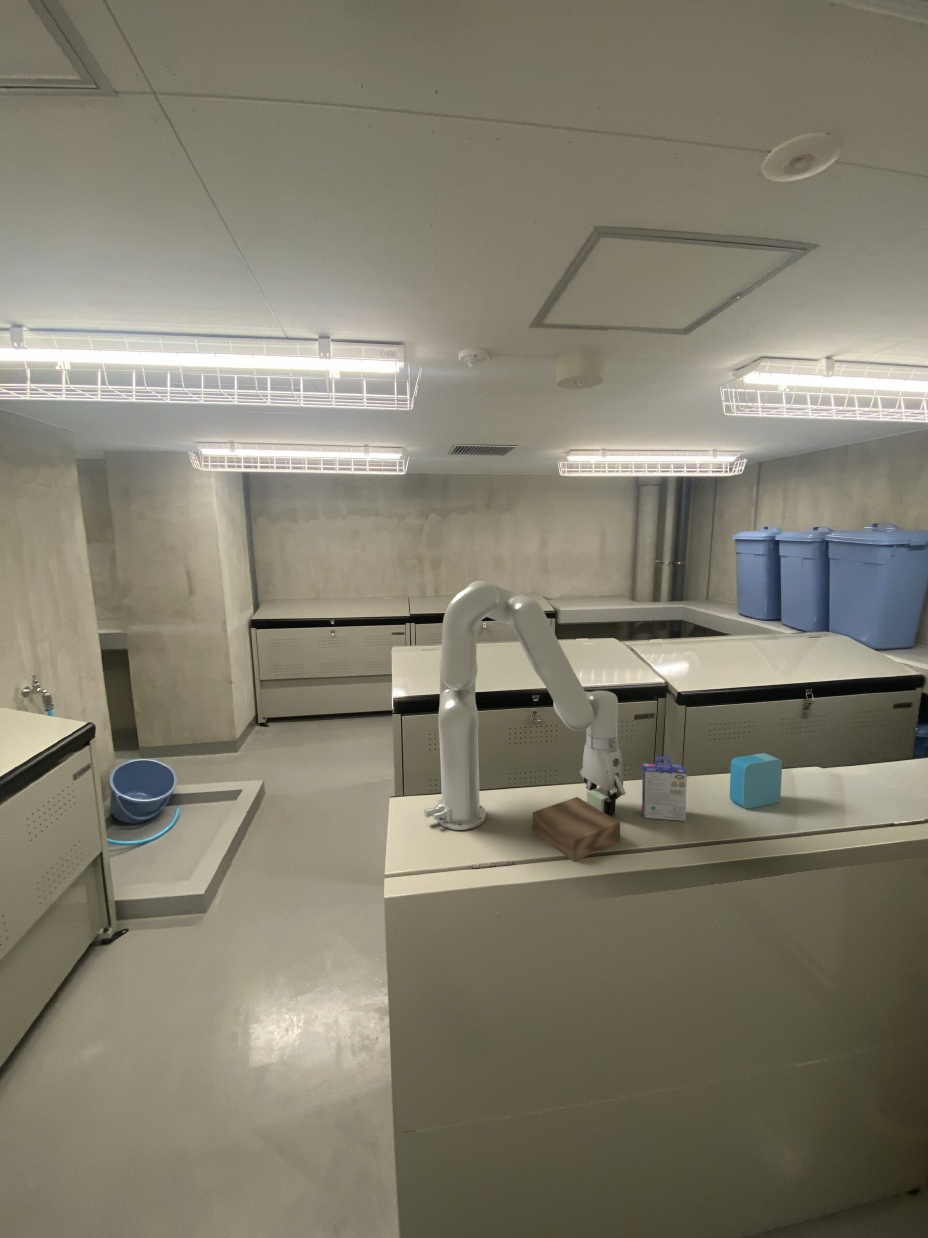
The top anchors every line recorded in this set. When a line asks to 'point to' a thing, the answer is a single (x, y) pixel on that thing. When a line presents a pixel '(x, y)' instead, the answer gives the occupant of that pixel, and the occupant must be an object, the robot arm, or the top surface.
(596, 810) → the walnut block
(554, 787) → the top surface
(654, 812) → the ink cartridge box
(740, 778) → the blue rounded block
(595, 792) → the sage cube
